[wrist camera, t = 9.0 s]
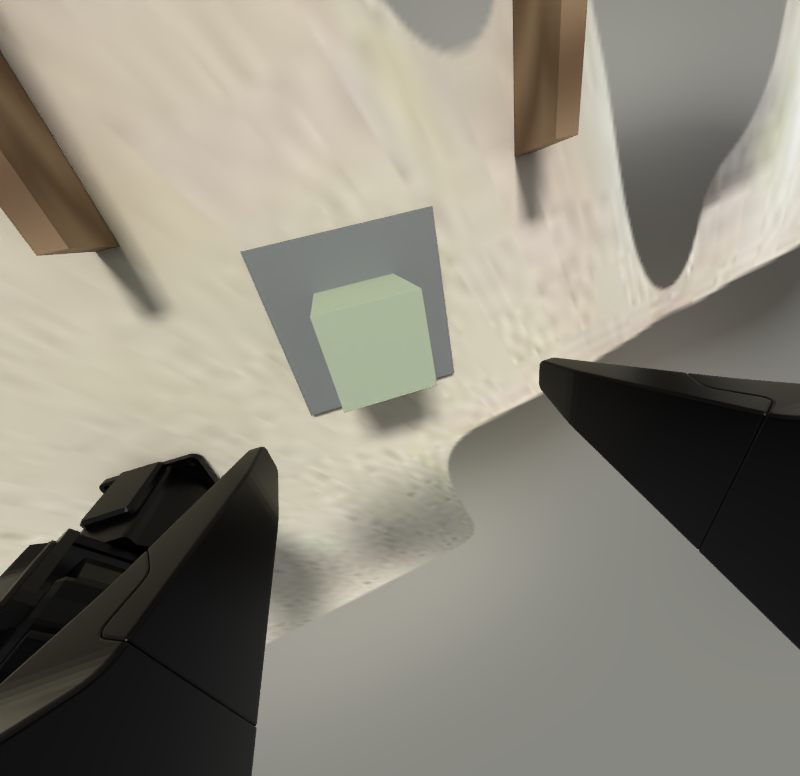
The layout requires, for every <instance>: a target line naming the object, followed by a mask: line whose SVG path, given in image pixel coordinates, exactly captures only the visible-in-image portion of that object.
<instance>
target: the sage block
mask: <svg viewBox="0 0 800 776" xmlns="http://www.w3.org/2000/svg"><path fill="white" fill-rule="evenodd" d="M310 319H311V322H312V324H313V327H314V330H315V333H316V336H317V338H318V341H319V344H320V347H321V349H322V352H323V355H324V358H325V361H326V363H327V366H328V369H329V372H330V375H331V377H332V380H333V383H334V386H335V388H336V391H337V394H338V397H339V400H340V402H341V405H342V408H343V411H344V413H346V412H349V411H352V410H356V409H359V408H362V407H366V406H369V405H372V404H376V403H379V402H382V401H386V400H389V399H392V398H396V397H399V396H402V395H406V394H409V393H412V392H416V391H419V390H422V389H426V388H429V387H432V386H436V385H437V381H436V375H435V369H434V363H433V356H432V350H431V344H430V338H429V332H428V325H427V319H426V313H425V307H424V301H423V295H422V288H420V287H418V286H416V285H414V284H412V283H410V282H409V281H407V280H405V279H403V278H401V277H399V276H397V275H395V274H394V273H393V274H389V275H385V276H381V277H377V278H373V279H369V280H365V281H361V282H358V283H354V284H350V285H346V286H342V287H338V288H334V289H330V290H326V291H322V292H318V293H314V294H313V301H312V308H311V315H310Z"/></svg>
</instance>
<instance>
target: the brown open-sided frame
mask: <svg viewBox="0 0 800 776" xmlns="http://www.w3.org/2000/svg"><path fill="white" fill-rule="evenodd" d="M586 14H587V0H513V31H514V117H515V156H518V155H523V154H527V153H531V152H535V151H537V150H540V149H542V148H545V147H547V146H550V145H553V144H555V143H558V142H560V141H563V140H565V139H568V138H570V137H573V136H575V135H578V127H579V113H580V99H581V85H582V71H583V56H584V42H585V28H586ZM0 207H1V209H2V210H3V211H4V213H5V214H6V215H7V217H8V218H9V219H10V221H11V222H12V223H13V225H14V226H15V227H16V229H17V230H18V231H19V233H20V234H21V235H22V237H23V238H24V239H25V241H26V242H27V243H28V245H29V246H30V247H31V249H32V250H33V251H34V253H35V254H36V255H37V256H38V255H53V254H67V253H81V252H95V251H99V250H104V249H108V248H112V247H117V246H119V244H118V243H117V241H116V239H115V238H114V236H113V234H112V233H111V231H110V230H109V228H108V226H107V225H106V223H105V221H104V220H103V218H102V216H101V215H100V213H99V212H98V210H97V208H96V207H95V205H94V203H93V202H92V200H91V199H90V197H89V195H88V194H87V192H86V190H85V189H84V187H83V185H82V184H81V182H80V181H79V179H78V177H77V176H76V174H75V172H74V171H73V169H72V168H71V166H70V164H69V163H68V161H67V159H66V158H65V156H64V155H63V153H62V151H61V150H60V148H59V146H58V145H57V143H56V141H55V140H54V138H53V137H52V135H51V133H50V132H49V130H48V128H47V127H46V125H45V124H44V122H43V120H42V119H41V117H40V115H39V114H38V112H37V110H36V109H35V107H34V106H33V104H32V102H31V101H30V99H29V97H28V96H27V94H26V93H25V91H24V89H23V88H22V86H21V84H20V83H19V81H18V79H17V78H16V76H15V75H14V73H13V71H12V70H11V68H10V66H9V65H8V63H7V62H6V60H5V58H4V57H3V55H2V53H1V52H0Z"/></svg>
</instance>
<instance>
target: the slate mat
mask: <svg viewBox="0 0 800 776" xmlns="http://www.w3.org/2000/svg"><path fill="white" fill-rule="evenodd" d="M241 254H242V257H243V259H244V261H245V263H246V266H247V268H248V270H249V273H250V275H251V277H252V280H253V282H254V284H255V287H256V289H257V291H258V293H259V296H260V298H261V300H262V303H263V305H264V307H265V310H266V312H267V314H268V316H269V319H270V321H271V323H272V326H273V328H274V330H275V333H276V335H277V337H278V340H279V342H280V344H281V346H282V349H283V351H284V353H285V356H286V358H287V360H288V363H289V365H290V367H291V370H292V372H293V374H294V376H295V379H296V381H297V383H298V386H299V388H300V390H301V393H302V395H303V397H304V399H305V402H306V404H307V406H308V409H309V411H310V413H311V416H312V415H315V414H319V413H322V412H325V411H329V410H332V409H335V408H338V407H342V405H341V402H340V400H339V397H338V394H337V391H336V388H335V386H334V383H333V380H332V377H331V375H330V372H329V369H328V366H327V363H326V361H325V358H324V355H323V352H322V349H321V347H320V344H319V341H318V338H317V336H316V333H315V330H314V327H313V324H312V322H311V319H310V315H311V308H312V301H313V294H314V293H318V292H322V291H326V290H330V289H334V288H338V287H342V286H346V285H350V284H354V283H358V282H361V281H365V280H369V279H373V278H377V277H381V276H385V275H389V274H393V273H394V274H395V275H397V276H399V277H401V278H403V279H405V280H407V281H409V282H410V283H412V284H414V285H416V286H418V287H420V288H422V295H423V301H424V307H425V313H426V319H427V325H428V332H429V338H430V344H431V350H432V356H433V363H434V369H435V375H436V378H438V377H441V376H445V375H448V374H451V373H454V368H453V361H452V353H451V345H450V338H449V330H448V322H447V315H446V307H445V299H444V292H443V284H442V276H441V269H440V261H439V254H438V246H437V238H436V231H435V223H434V215H433V208H432V206H431V207H427V208H423V209H419V210H414V211H410V212H406V213H402V214H398V215H393V216H389V217H385V218H381V219H377V220H372V221H368V222H364V223H360V224H356V225H351V226H347V227H343V228H339V229H335V230H331V231H326V232H322V233H318V234H314V235H310V236H305V237H301V238H297V239H293V240H289V241H284V242H280V243H276V244H272V245H268V246H263V247H259V248H255V249H251V250H247V251H242V252H241Z"/></svg>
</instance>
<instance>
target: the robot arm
mask: <svg viewBox="0 0 800 776" xmlns="http://www.w3.org/2000/svg"><path fill="white" fill-rule="evenodd" d="M539 385H540V388H541V390H542V391H543V393H544V394H545V395H546V396H547V398H548V399H549V400H550V401H551V402H552V404H553V405H554V406H555V407H556V408H557V410H558V411H559V412H560V413H561V414H562V416H563V417H564V418H565V419H566V420H567V421H568V423H569V424H570V425H571V426H572V427H573V428H574V429H575V430H576V431H577V432H578V433H579V434H580V435H581V436H582V437H583V438H584V439H585V440H587V441H588V443H589V444H590V445H592V446H593V447H594V448H595V449H596V450H597V451H598V452H599V453H600V454H601V455H602V456H603V457H604V458H605V459H606V460H607V461H608V462H609V463H610V464H611V465H612V466H613V467H614V468H615V469H616V470H617V471H618V472H619V473H620V474H621V475H622V476H623V477H624V478H625V479H626V480H627V481H628V482H629V483H630V484H631V485H632V486H633V487H634V488H635V489H636V490H638V492H639V493H641V494H642V495H643V496H644V497H645V498H646V499H647V500H648V501H649V502H650V503H651V504H652V505H653V506H654V507H655V508H656V509H657V510H658V511H659V512H660V513H661V514H662V515H663V516H664V517H665V518H666V519H667V520H668V521H669V522H670V523H671V524H672V525H673V526H674V527H675V528H676V529H677V530H678V531H679V532H680V533H681V534H682V535H683V536H684V537H685V538H687V540H688V541H690V542H691V543H692V544H693V545H694V546H695V547H696V548H697V549H699V551H700V553H701V554H703V555H704V556H705V557H706V558H707V559H708V560H709V561H710V562H711V563H712V564H713V565H714V566H715V567H716V568H717V569H718V570H719V571H720V572H721V573H722V574H723V575H724V576H725V577H726V578H727V579H728V580H729V581H730V582H731V583H732V584H733V585H734V586H735V587H736V588H737V589H738V590H739V591H740V592H741V593H742V594H743V595H744V596H745V597H746V598H747V599H749V601H750V602H752V604H754V605H755V606H756V607H757V608H758V609H759V610H760V611H761V612H762V613H763V614H764V615H765V616H766V617H767V618H768V619H769V620H770V621H771V622H772V623H773V624H774V625H775V626H776V627H777V628H778V629H779V630H780V631H781V632H782V633H783V634H784V635H785V636H786V637H787V638H789V640H790V641H791V642H792V643H793V644H794V645H795V646H796V647H797V648H798V649H799V650H800V384H798V383H784V382H773V381H761V380H750V379H738V378H728V377H719V376H709V375H700V374H692V373H689V374H687V373H683V372H674V371H665V370H657V369H647V368H640V367H631V366H623V365H614V364H605V363H597V362H588V361H579V360H571V359H562V358H550V359H547V360H544V361H542V362H541V363H540V370H539ZM190 460H193V461H195V462H192V461H190ZM99 489H100V490H101V491H102V492H103V493H104V494H103V495H102V497H101V498H100V499H99V500H98V501H97V502H96V504H95V505H94V506H93V507H92V508H91V510H90V511H89V512H88V513H87V514H86V516H85V517H84V518H83V519H82V521H81V523H80V526H81V527H82V528H83V530H82V532H78V531H75V530H72V529H68V530H67V531H66V532H65V533H64V534H63V535H62V536H61V537H60V538H59V539H58V540H57V541H53V540H52V541H51V542H49V543H43V544H34V545H30V546H29V547H28V548H27V549H26V550H25V551H24V552H23V553H22V554H21V555H20V556H19V557H18V558H17V559H16V560H15V561H14V562H13V563H12V564H11V565H10V566H9V567H8V569H7V570H6V571H5V572H4V573H3V574H2V575H1V576H0V776H251V775H252V766H253V756H254V747H255V737H256V727H255V726H256V724H257V716H258V707H259V698H260V689H261V679H262V670H263V661H264V652H265V642H266V633H267V624H268V614H269V605H270V596H271V586H272V577H273V568H274V559H275V549H276V540H277V531H278V519H279V506H278V470H277V467H276V465H275V463H274V462H273V460H272V458H271V456H270V454H269V453H268V451H267V449H266V448H265V447H259V448H255V449H252V450H249V451H248V452H247V453H246V454H245V455H244V456H243V457H242V458H241V459H240V460H239V461H238V462H237V463H236V464H235V465H234V466H233V467H232V468H231V469H230V470H229V471H228V472H227V473H226V474H224V475H223V476H222V477H221V478H220V479H219V480H217V478H216V477H215V476H214V474H213V473H212V472H211V470H210V469H209V467H208V466H207V465H206V463H205V462H204V460H203V459H202V458H201V457H200V456H199V455H197V454H188V455H185V456H182V457H179V458H175V459H172V460H169V461H165V462H156V463H153V464H150V465H146V466H143V467H140V468H136V469H133V470H130V471H126V472H123V473H121V474H120V475H119V476H116V477H112V478H109V479H106V480H105V481H104V482H103V483H102V484H101V485H100V486H99Z"/></svg>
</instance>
